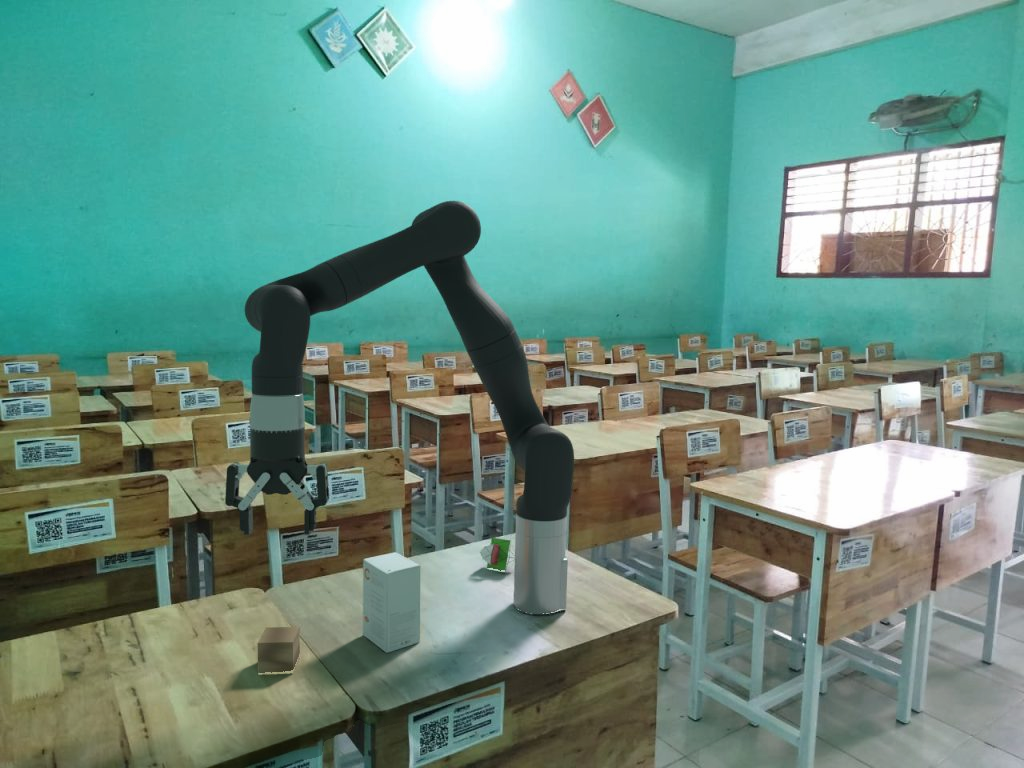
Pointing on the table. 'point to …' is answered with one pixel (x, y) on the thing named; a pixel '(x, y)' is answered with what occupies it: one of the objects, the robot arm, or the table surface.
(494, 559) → the geometric puzzle
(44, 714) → the table surface
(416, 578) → the small box
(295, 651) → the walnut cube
